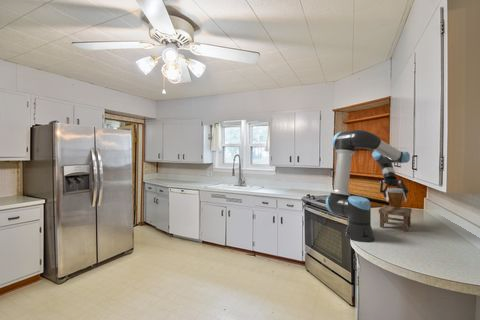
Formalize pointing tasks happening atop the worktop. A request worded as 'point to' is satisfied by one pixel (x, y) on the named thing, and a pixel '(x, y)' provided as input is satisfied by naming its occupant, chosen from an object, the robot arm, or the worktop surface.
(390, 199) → the disposable coffee cup
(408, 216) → the walnut stool
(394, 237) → the worktop surface
